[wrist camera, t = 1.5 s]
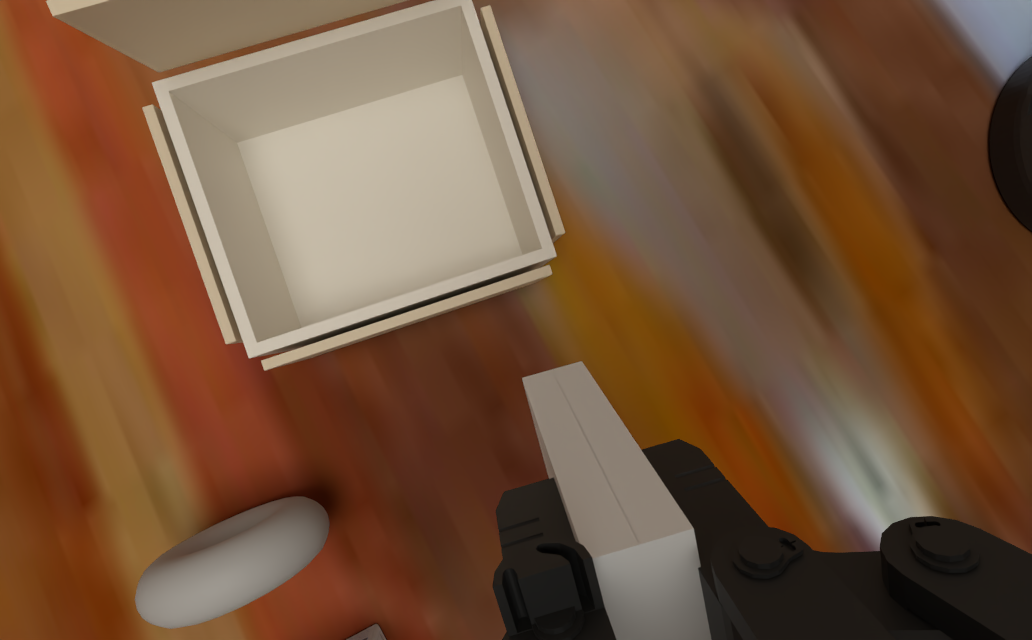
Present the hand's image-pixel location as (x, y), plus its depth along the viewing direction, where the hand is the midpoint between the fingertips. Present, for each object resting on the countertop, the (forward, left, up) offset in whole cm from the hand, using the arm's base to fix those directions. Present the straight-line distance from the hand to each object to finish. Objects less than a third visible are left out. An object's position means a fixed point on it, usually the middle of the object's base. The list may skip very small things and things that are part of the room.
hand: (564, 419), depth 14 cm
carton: (+4, -12, -24) cm, 27 cm away
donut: (+18, +5, -25) cm, 31 cm away
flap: (+4, -19, -15) cm, 25 cm away
